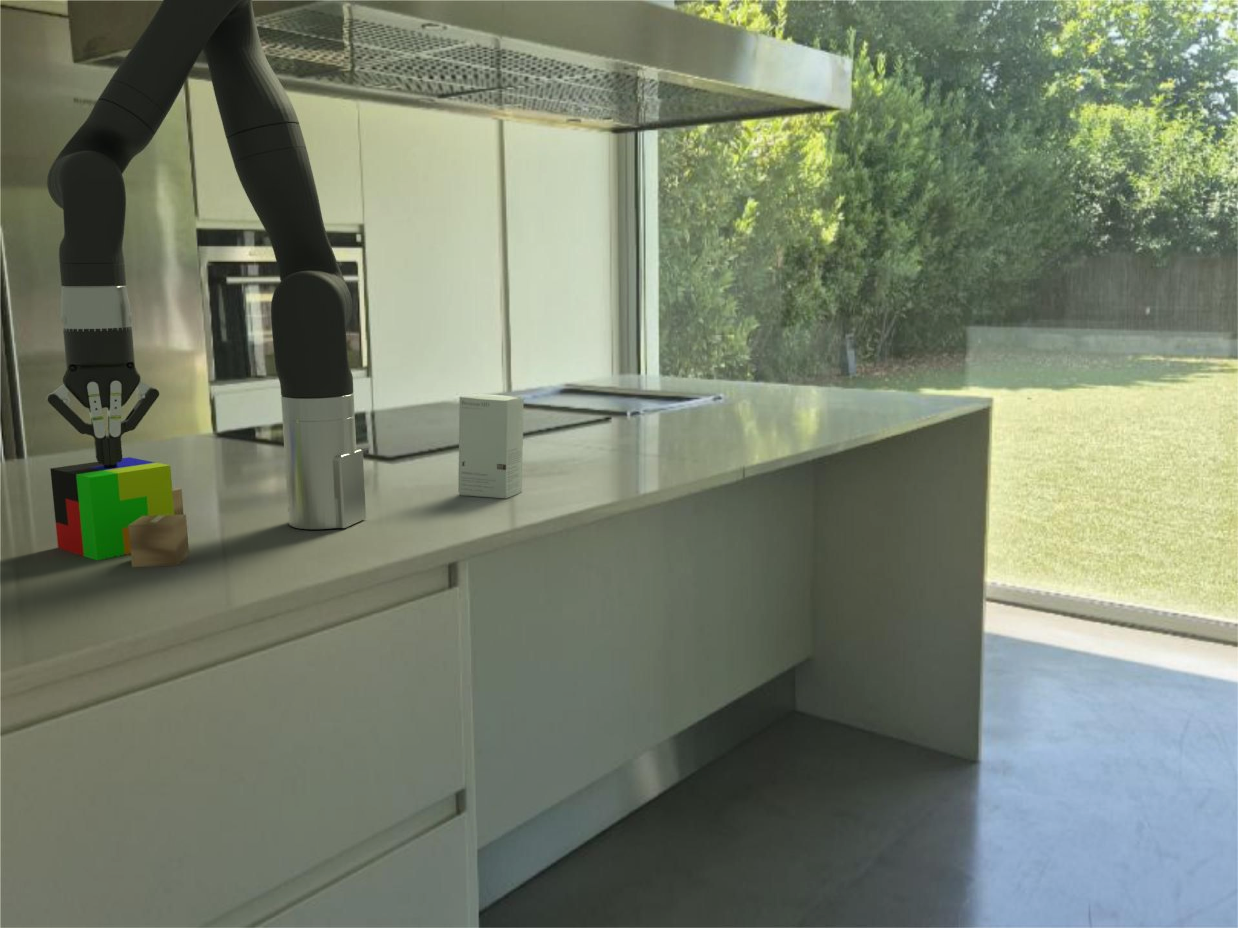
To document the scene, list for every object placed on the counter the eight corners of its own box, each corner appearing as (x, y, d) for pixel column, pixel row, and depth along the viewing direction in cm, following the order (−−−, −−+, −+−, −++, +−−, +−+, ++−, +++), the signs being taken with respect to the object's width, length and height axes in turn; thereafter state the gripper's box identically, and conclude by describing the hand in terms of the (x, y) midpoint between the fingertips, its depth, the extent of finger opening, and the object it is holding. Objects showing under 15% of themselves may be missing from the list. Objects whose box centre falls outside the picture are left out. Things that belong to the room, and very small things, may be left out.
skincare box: (458, 496, 167) (454, 396, 165) (477, 488, 173) (473, 392, 170) (508, 499, 165) (506, 398, 162) (526, 491, 170) (524, 394, 167)
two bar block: (184, 525, 150) (181, 487, 149) (152, 533, 146) (149, 494, 145) (159, 521, 153) (156, 484, 152) (127, 529, 149) (124, 491, 148)
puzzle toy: (136, 533, 146) (129, 457, 145) (176, 544, 140) (170, 465, 138) (58, 548, 139) (50, 468, 137) (97, 560, 132) (89, 477, 131)
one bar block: (189, 555, 135) (185, 513, 134) (176, 566, 130) (173, 522, 129) (146, 556, 134) (142, 514, 133) (132, 567, 129) (128, 524, 129)
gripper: (152, 321, 141) (162, 457, 144) (34, 324, 135) (47, 467, 138) (161, 324, 135) (171, 466, 138) (37, 327, 128) (51, 477, 131)
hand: (109, 466), depth 138 cm, fingers closed
